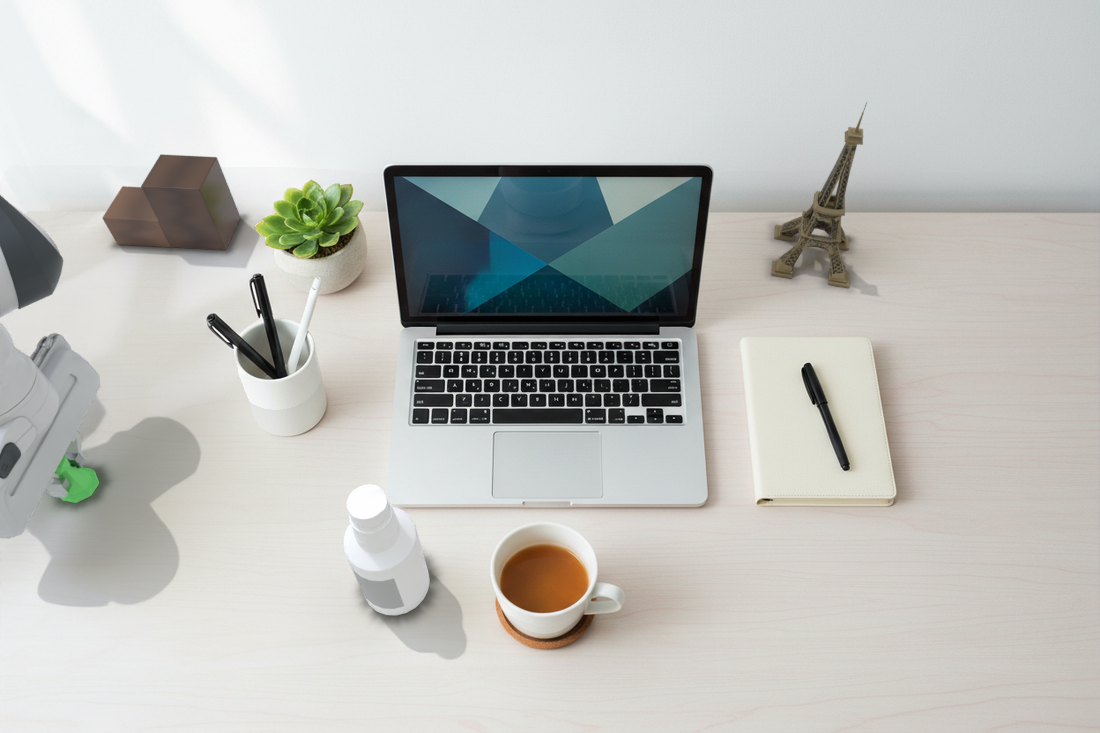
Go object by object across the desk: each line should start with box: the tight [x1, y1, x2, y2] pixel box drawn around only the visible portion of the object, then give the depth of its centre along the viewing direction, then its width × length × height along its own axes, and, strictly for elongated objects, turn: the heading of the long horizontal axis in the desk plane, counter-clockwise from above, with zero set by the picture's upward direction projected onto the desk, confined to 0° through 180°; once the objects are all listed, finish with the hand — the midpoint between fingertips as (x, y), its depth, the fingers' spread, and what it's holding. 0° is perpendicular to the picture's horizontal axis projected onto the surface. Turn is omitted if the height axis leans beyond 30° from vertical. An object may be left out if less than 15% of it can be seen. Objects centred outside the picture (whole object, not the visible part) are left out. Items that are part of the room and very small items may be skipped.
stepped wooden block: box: [102, 154, 242, 251], centre depth 110 cm, size 16×7×11 cm, turn 86°
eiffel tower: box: [770, 101, 868, 289], centre depth 102 cm, size 11×11×25 cm
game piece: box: [54, 456, 100, 504], centre depth 86 cm, size 4×4×6 cm
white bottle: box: [342, 484, 431, 616], centre depth 74 cm, size 7×7×18 cm
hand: (70, 476), depth 86 cm, fingers closed
